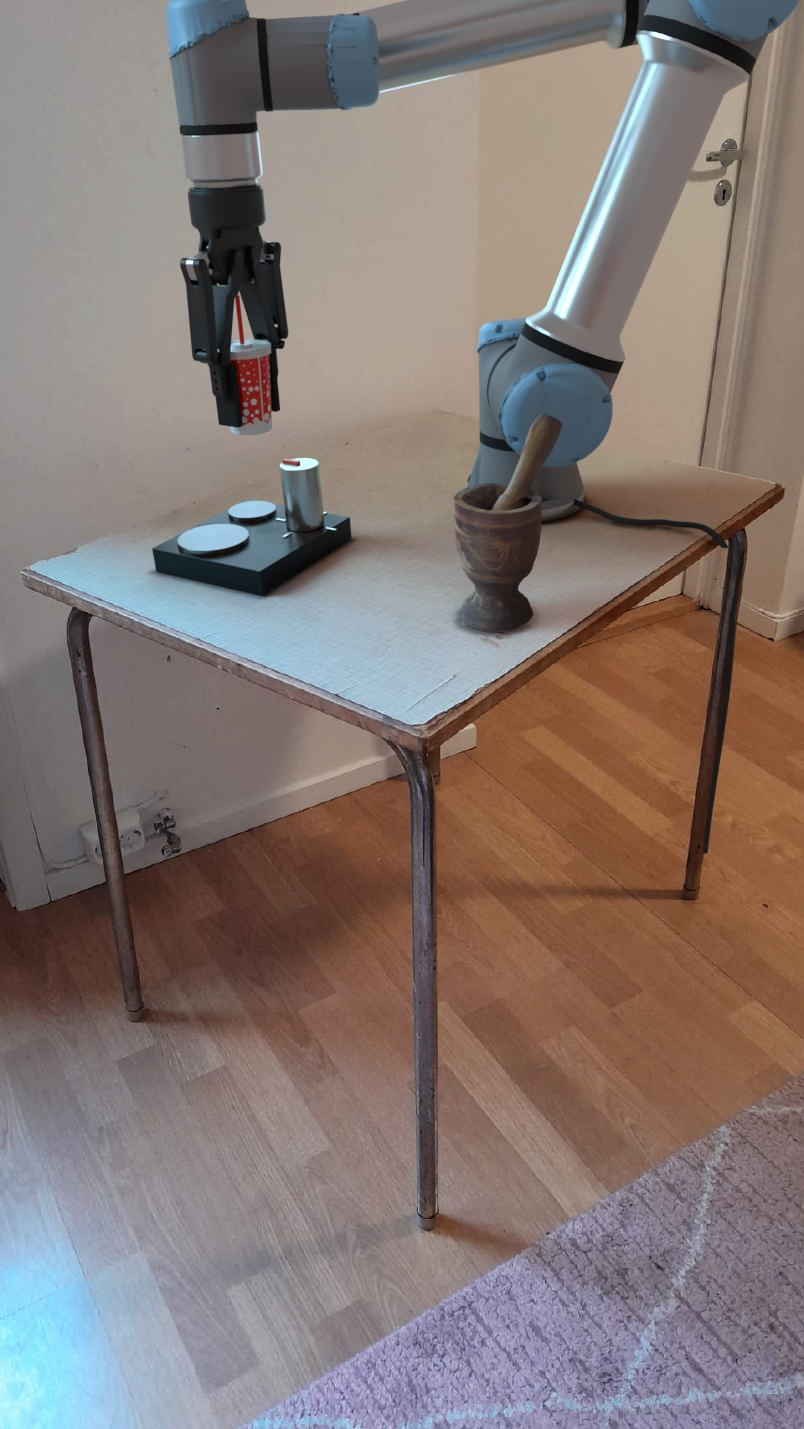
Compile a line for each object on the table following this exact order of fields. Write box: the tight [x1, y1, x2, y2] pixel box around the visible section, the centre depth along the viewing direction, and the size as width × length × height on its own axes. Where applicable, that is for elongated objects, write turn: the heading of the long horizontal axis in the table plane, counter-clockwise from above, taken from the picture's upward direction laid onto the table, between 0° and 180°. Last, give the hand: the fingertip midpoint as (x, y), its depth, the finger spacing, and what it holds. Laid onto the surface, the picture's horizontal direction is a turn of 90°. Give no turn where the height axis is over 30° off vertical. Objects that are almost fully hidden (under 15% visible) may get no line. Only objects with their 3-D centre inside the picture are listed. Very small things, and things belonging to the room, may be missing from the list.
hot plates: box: [177, 500, 277, 556], centre depth 126 cm, size 9×16×1 cm, turn 149°
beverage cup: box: [218, 294, 273, 436], centre depth 112 cm, size 6×6×14 cm
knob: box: [279, 457, 325, 532], centre depth 124 cm, size 5×5×8 cm
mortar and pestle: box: [452, 413, 562, 633], centre depth 105 cm, size 12×9×20 cm
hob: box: [151, 498, 353, 597], centre depth 125 cm, size 17×18×3 cm
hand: (250, 417), depth 115 cm, fingers closed on beverage cup, 6 cm apart
